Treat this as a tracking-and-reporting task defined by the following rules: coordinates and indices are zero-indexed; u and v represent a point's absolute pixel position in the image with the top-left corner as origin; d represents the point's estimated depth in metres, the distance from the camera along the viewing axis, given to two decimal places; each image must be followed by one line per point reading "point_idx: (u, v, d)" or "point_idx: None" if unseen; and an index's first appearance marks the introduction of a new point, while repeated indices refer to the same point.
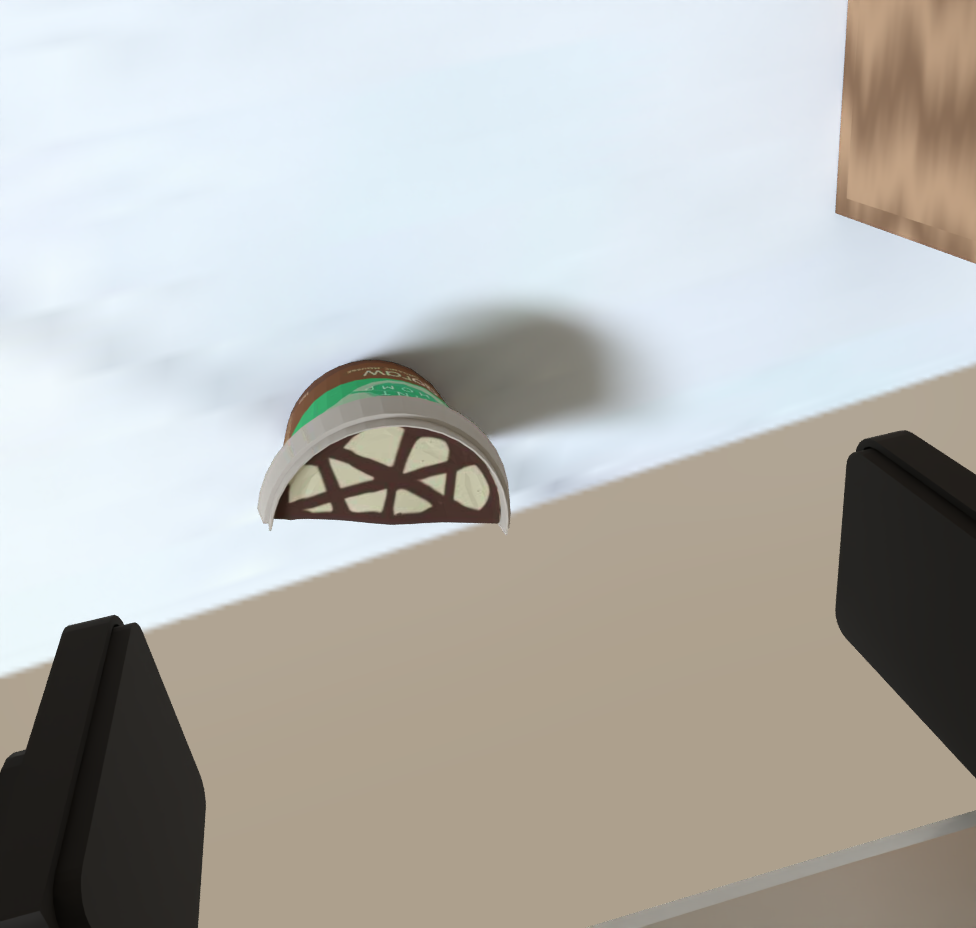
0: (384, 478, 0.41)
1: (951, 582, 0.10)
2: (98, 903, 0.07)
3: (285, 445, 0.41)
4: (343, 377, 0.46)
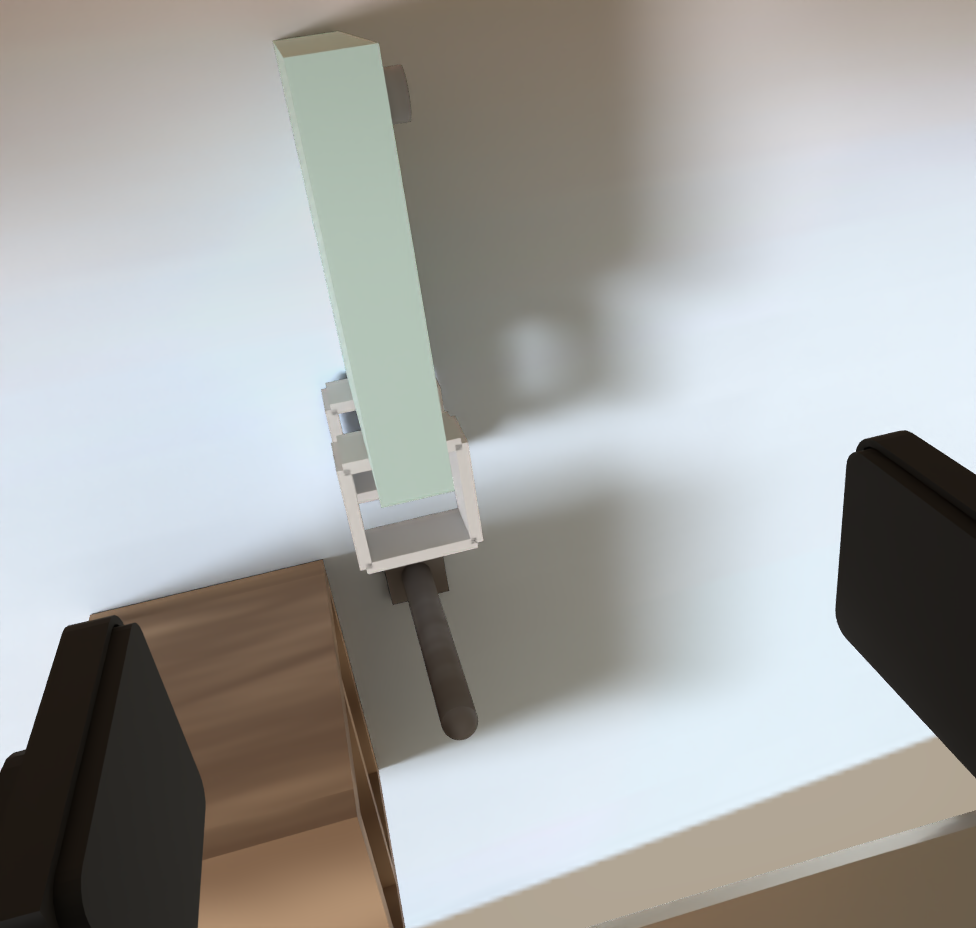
0: None
1: (951, 582, 0.10)
2: (98, 903, 0.07)
3: None
4: None
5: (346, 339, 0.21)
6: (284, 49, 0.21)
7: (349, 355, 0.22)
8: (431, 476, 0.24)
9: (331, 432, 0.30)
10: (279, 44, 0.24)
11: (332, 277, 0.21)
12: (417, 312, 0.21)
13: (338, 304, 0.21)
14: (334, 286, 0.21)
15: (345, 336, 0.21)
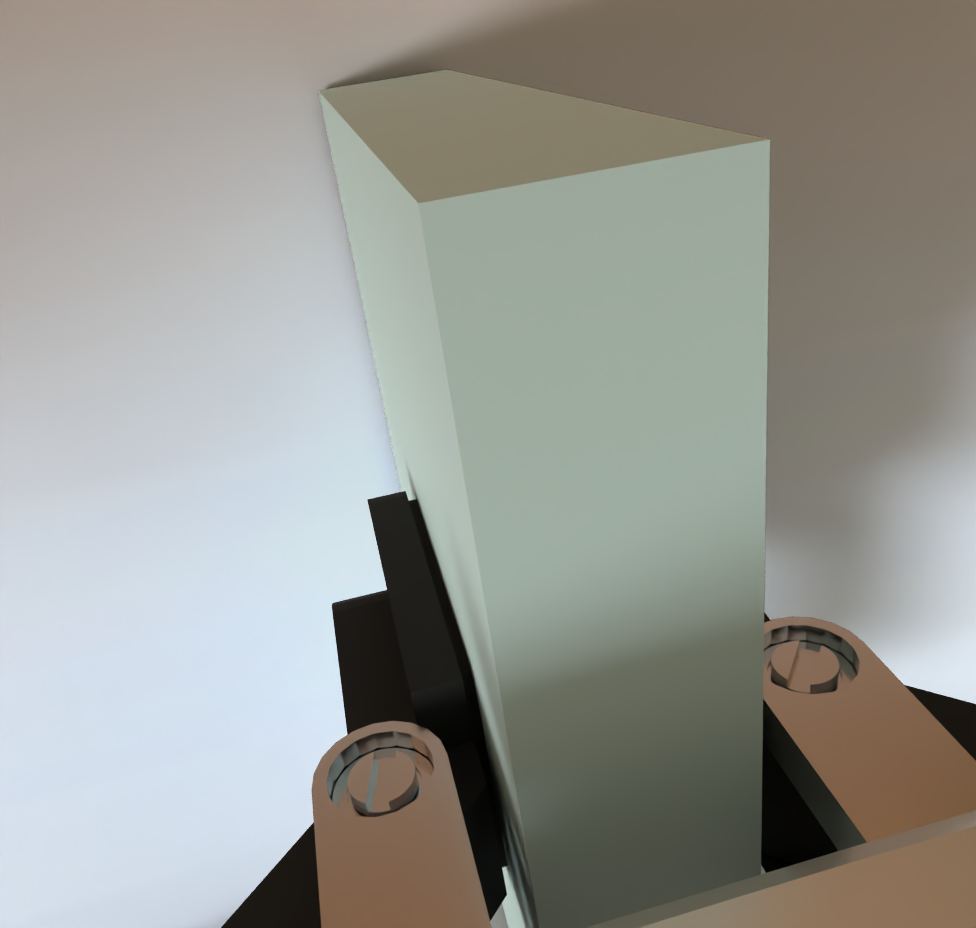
0: None
1: None
2: None
3: None
4: None
5: None
6: (373, 132, 0.08)
7: None
8: None
9: None
10: (342, 105, 0.11)
11: (524, 821, 0.07)
12: (742, 860, 0.08)
13: (534, 878, 0.07)
14: (528, 840, 0.07)
15: None
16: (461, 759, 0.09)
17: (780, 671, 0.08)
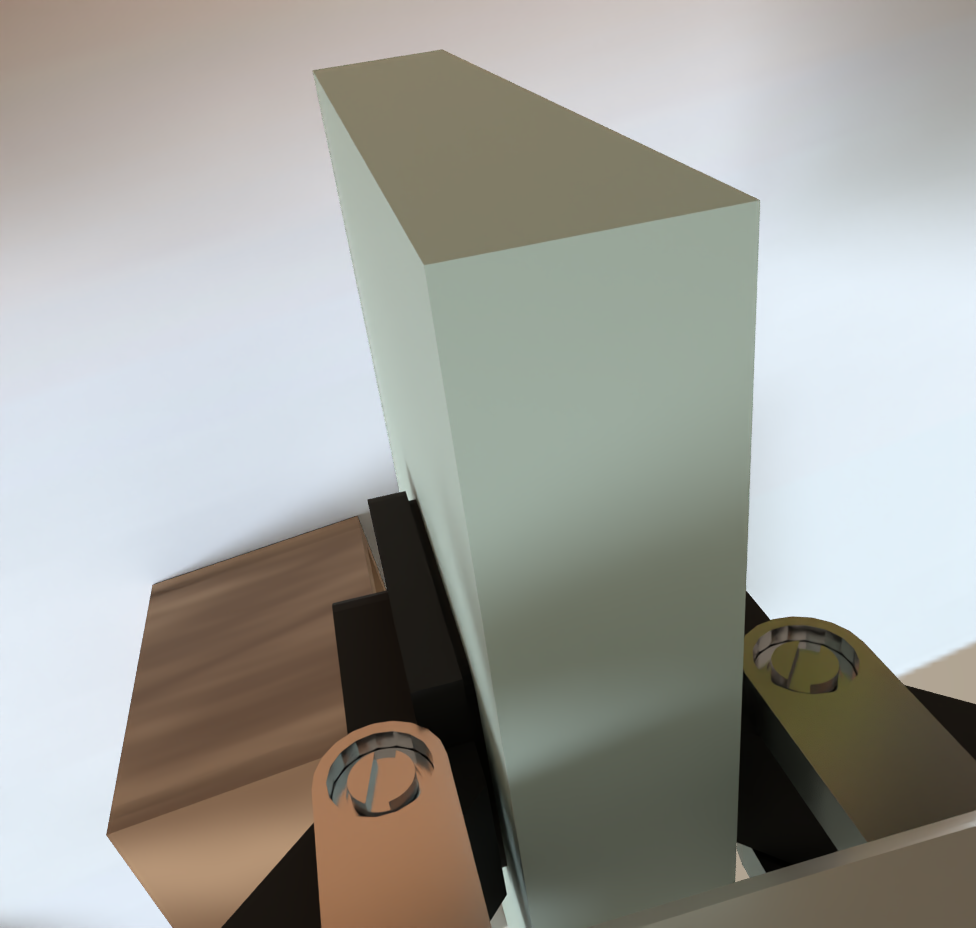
0: None
1: None
2: None
3: None
4: None
5: (535, 921, 0.08)
6: (373, 146, 0.08)
7: None
8: None
9: None
10: (339, 98, 0.11)
11: (517, 814, 0.07)
12: (718, 844, 0.08)
13: (525, 865, 0.08)
14: (520, 831, 0.07)
15: (534, 919, 0.08)
16: (461, 759, 0.09)
17: (780, 671, 0.08)
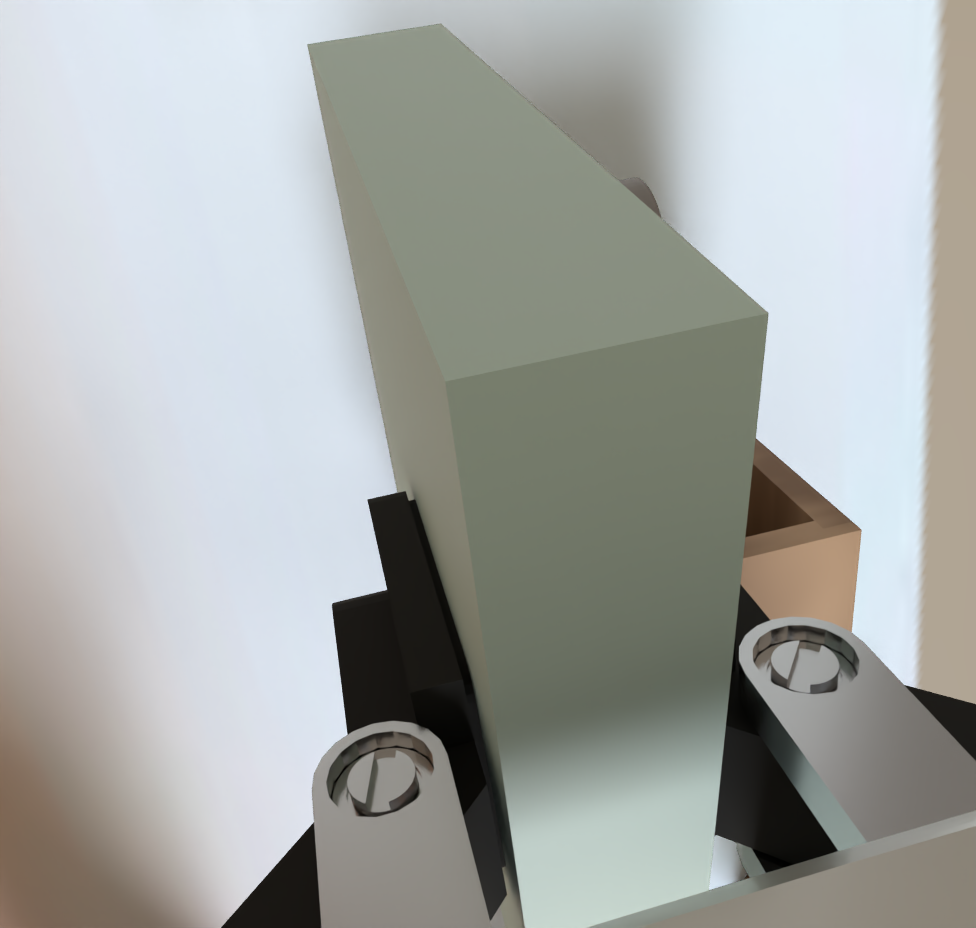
0: None
1: None
2: None
3: None
4: None
5: (526, 914, 0.09)
6: (381, 183, 0.08)
7: None
8: None
9: None
10: (339, 96, 0.10)
11: (514, 831, 0.08)
12: (697, 846, 0.09)
13: (520, 871, 0.08)
14: (516, 844, 0.08)
15: (526, 913, 0.09)
16: (461, 759, 0.09)
17: (780, 671, 0.08)
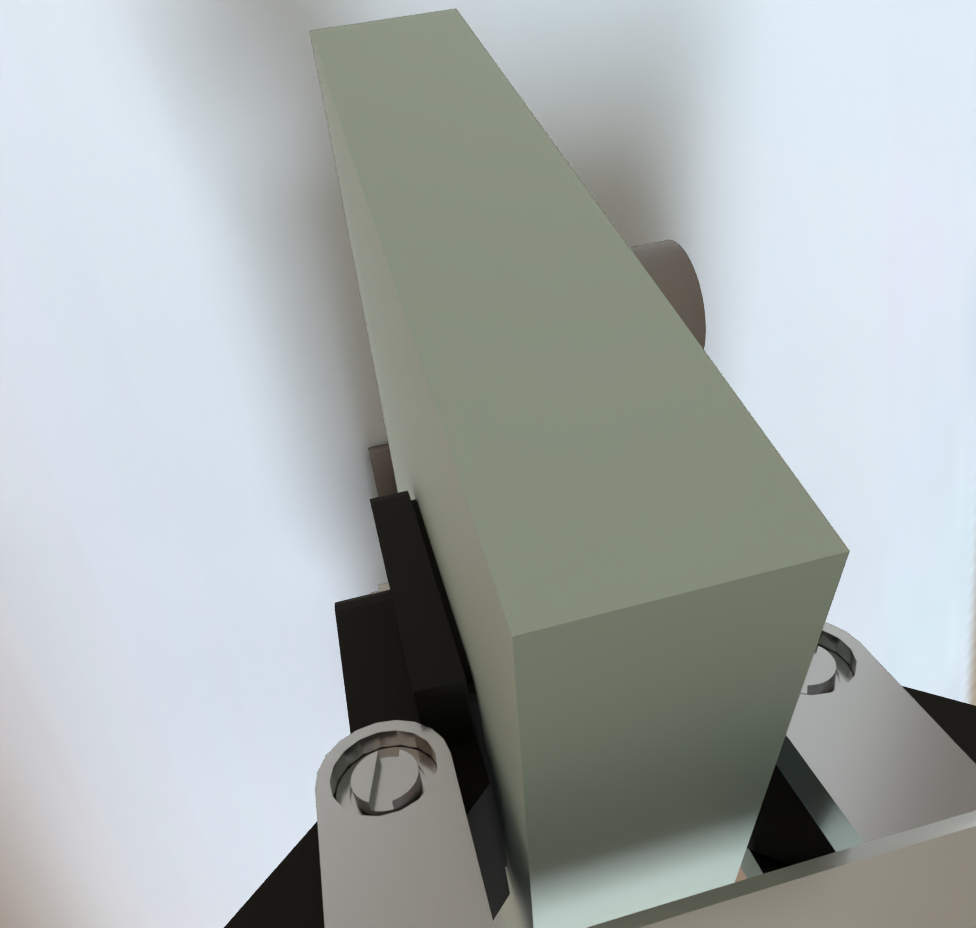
0: None
1: None
2: None
3: None
4: None
5: None
6: (414, 288, 0.07)
7: None
8: None
9: None
10: (353, 128, 0.10)
11: None
12: None
13: None
14: None
15: None
16: (464, 758, 0.09)
17: None
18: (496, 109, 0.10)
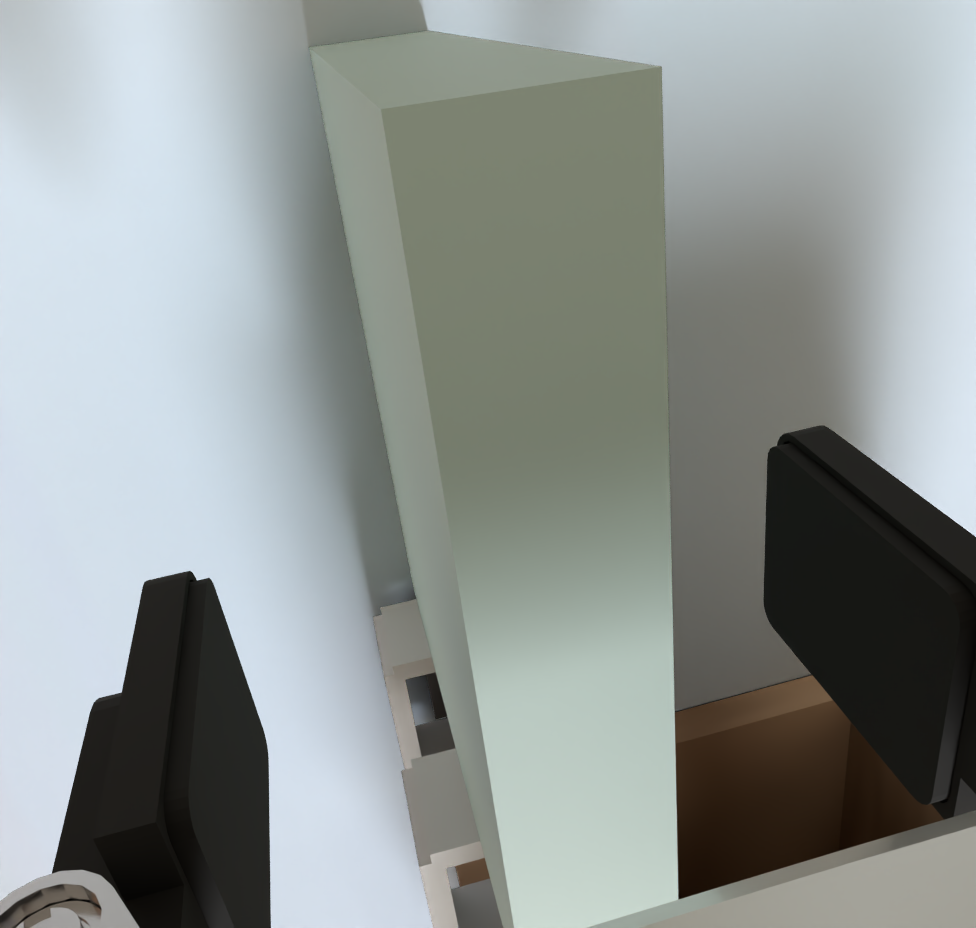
0: None
1: (856, 571, 0.10)
2: (201, 822, 0.08)
3: None
4: None
5: (491, 764, 0.09)
6: (353, 72, 0.09)
7: (494, 792, 0.09)
8: None
9: (392, 706, 0.18)
10: (329, 56, 0.12)
11: (471, 648, 0.08)
12: (658, 697, 0.09)
13: (480, 701, 0.09)
14: (474, 666, 0.08)
15: (490, 761, 0.09)
16: (163, 908, 0.07)
17: None
18: (445, 40, 0.12)
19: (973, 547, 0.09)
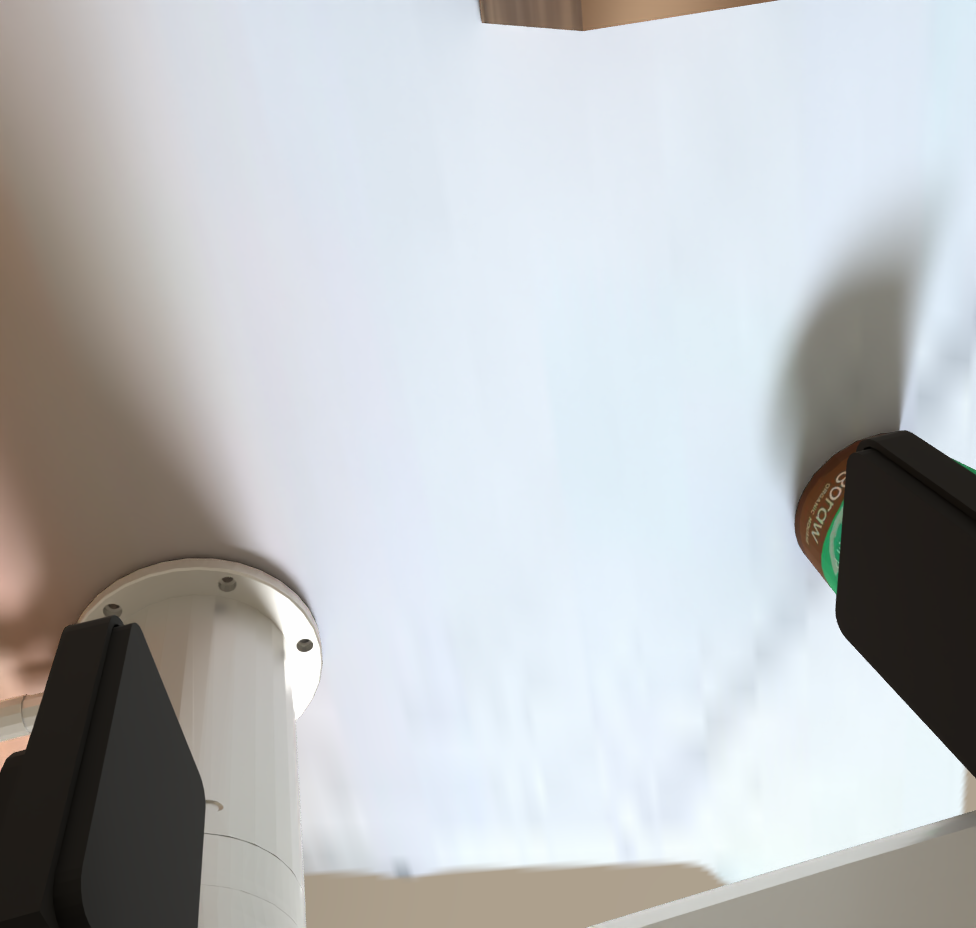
0: None
1: (951, 582, 0.10)
2: (98, 903, 0.07)
3: None
4: (812, 552, 0.50)
5: None
6: None
7: None
8: None
9: None
10: None
11: None
12: None
13: None
14: None
15: None
16: None
17: None
18: None
19: None
